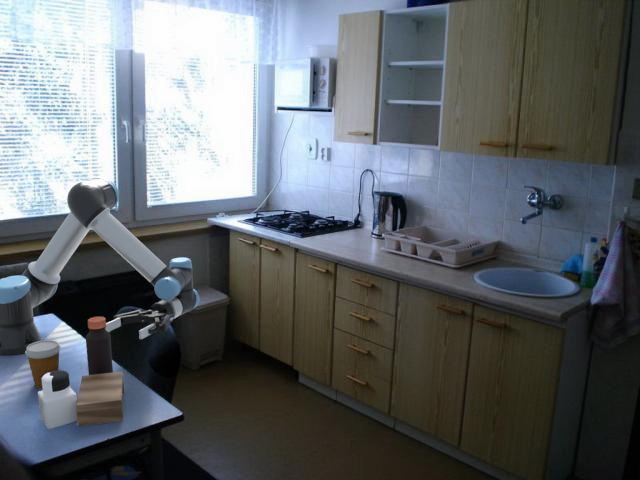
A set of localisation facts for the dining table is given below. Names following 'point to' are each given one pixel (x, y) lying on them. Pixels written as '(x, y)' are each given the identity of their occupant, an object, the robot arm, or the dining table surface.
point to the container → (57, 400)
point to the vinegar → (98, 347)
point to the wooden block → (100, 399)
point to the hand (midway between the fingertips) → (122, 331)
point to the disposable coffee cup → (43, 359)
